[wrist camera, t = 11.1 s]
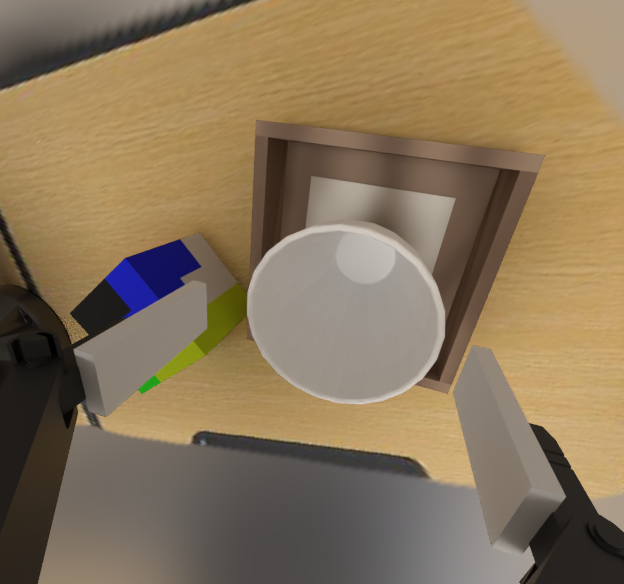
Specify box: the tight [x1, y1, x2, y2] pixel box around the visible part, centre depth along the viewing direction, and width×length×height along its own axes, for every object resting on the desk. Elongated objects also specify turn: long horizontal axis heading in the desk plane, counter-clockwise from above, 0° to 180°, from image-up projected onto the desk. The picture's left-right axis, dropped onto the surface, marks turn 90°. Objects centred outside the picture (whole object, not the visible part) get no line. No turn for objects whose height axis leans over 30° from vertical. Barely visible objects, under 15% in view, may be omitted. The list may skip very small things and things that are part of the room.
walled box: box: [247, 120, 545, 394], centre depth 26 cm, size 19×19×5 cm
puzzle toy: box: [70, 233, 247, 393], centre depth 31 cm, size 10×10×10 cm
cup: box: [247, 219, 445, 404], centre depth 22 cm, size 10×10×14 cm
